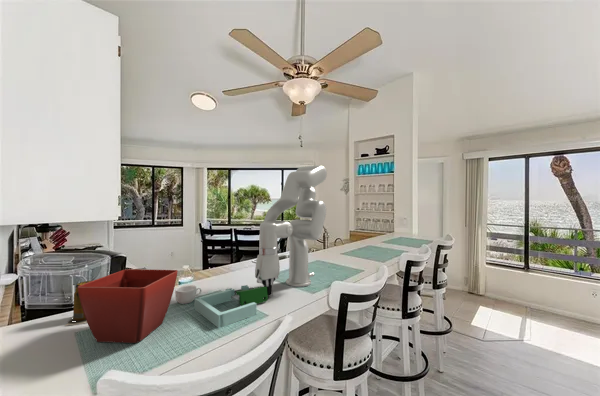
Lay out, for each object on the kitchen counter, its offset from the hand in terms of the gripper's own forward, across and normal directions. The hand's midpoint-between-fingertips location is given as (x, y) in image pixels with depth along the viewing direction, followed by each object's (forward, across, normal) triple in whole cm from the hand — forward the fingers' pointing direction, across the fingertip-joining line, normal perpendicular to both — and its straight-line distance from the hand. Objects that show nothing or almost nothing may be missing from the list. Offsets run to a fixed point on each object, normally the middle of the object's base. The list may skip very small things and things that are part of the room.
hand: (267, 294), depth 109 cm
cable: (+1, +12, -11) cm, 16 cm away
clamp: (+1, +8, 0) cm, 8 cm away
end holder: (+1, +20, +1) cm, 20 cm away
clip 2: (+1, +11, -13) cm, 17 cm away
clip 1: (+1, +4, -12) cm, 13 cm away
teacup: (+1, +26, -18) cm, 32 cm away
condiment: (+2, +58, -26) cm, 64 cm away
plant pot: (+1, +48, -5) cm, 48 cm away
